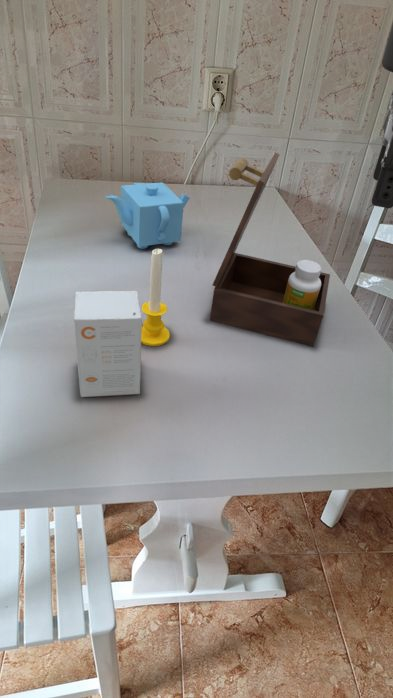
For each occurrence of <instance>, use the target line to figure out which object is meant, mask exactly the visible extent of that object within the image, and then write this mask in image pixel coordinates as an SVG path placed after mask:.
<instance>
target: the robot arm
mask: <svg viewBox="0 0 393 698" xmlns="http://www.w3.org/2000/svg"><path fill="white" fill-rule="evenodd" d="M381 66H382V68H383V69H384V70H386V71H388V72H391V73H393V22H392V23H391V28H390V31H389V34H388V37H387V41H386V45H385V48H384V52H383V56H382V59H381ZM386 109H387V112H386V114H385V116H384V121H383V126H382V131H383V134H382V136H381V144H382V145H381V148H380V151H379V154H378V158H377V161H376V164H375V168H374V170H373V174H372V177H373V180H374V181H376V185H375V188H374V190H373V194H372V198H371V205H373V207H379V208H384V209H391V208H393V89H392V90H391V93H390V96H389V98H388V102H387V106H386Z"/></svg>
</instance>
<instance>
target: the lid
mask: <svg viewBox="0 0 393 698" xmlns="http://www.w3.org/2000/svg"><path fill="white" fill-rule="evenodd" d="M279 157H280V153H277V152H274V154H273V155H272V157H271V158H270V161H269V162H268V164H267V166H266V167H265V169H264V171H263V170H260V169H258V168H256V167H255V166H252V165H249V161H248V160H247V158H245V157H239V158H238V159H237V160H236V162H235V163H234V164H233V166H232V167H230V169H229V172H228V176H229V178H230V180H233V181H238V180H242V181H244V182H247V183H249V184H250V185H252V186H255V188H254V190H253V193H252V195H251V198H250V200H249V201H248V204H247V206H246V209H245V211H244V212H243V215H242V217H241V220H240V221H239V224H238V226H237V228H236V231H235V232H234V235H233V237H232V240H231V241H230V245H229V247H228V248H227V251H226V253H225V255H224V257H223V260H222V262H221V264H220V267H219V269H218V271H217V274H216V275H215V278H214V280H213V283H212V286H213V287H214V288H215V287H217V286H218V284H219V282H220V280H221V278H222V276H223V274H224V272H225V270H226V268H227V266H228V265H229V263H230V261H231V259H232V257H233V255H234V253H236V251H237V248H238V247H239V245H240V243H241V241H242V238H243V236H244V233H245V231H246V229H247V227H248V225H249V223H250V220H251V218H252V216H253V214H254V212H255V210H256V207H257V205H258V203H259V201H260V199H261V197H262V194H263V193H264V190H265V188H266V185H267V184H268V181H269V179H270V177H271V175H272V173H273V170H274V168H275V166H276V164H277V162H278V159H279ZM245 172H249V173H251V174H253V175H254V176H257V177H259V179H257V178H254V177H253V176H250V175H248V174H246V173H245Z"/></svg>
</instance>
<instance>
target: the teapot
mask: <svg viewBox="0 0 393 698" xmlns="http://www.w3.org/2000/svg"><path fill="white" fill-rule="evenodd" d="M104 198H106V199H108V200H110V201H112V202H113V204H114V205H115V208H116V211H117V215H118V217H119V219H120V224H121V226H122V227H123V228H124V229H125V231H126V232H127V235H128V236H130V237H131V239H132V240H133V241H134V243H135V244H136V247H137V248H139V249H147V248H148V247H149V246H155V245H161V244H162V245H164V246H172V245H173V243H177V242H181V239H182V229H183V217H184V208H185V207H186V205H187V204H188V202H189V200H190V198H191V197H190V196H189V195H188V194H185V193H181V195H180V196H179V197H178V196H177V195H176V194H175V193H174V192H173V190H171V189H170V188H169V187H168V186H167V185H166V184H165V183H164V182H162V181H161V182H150V183H149V182H147V183H144V182H143V183H142V182H133V183H132V184H125V185H121V186H120V197H119V196H117V195H115V194H114V195H113V194H111V195H104Z"/></svg>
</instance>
